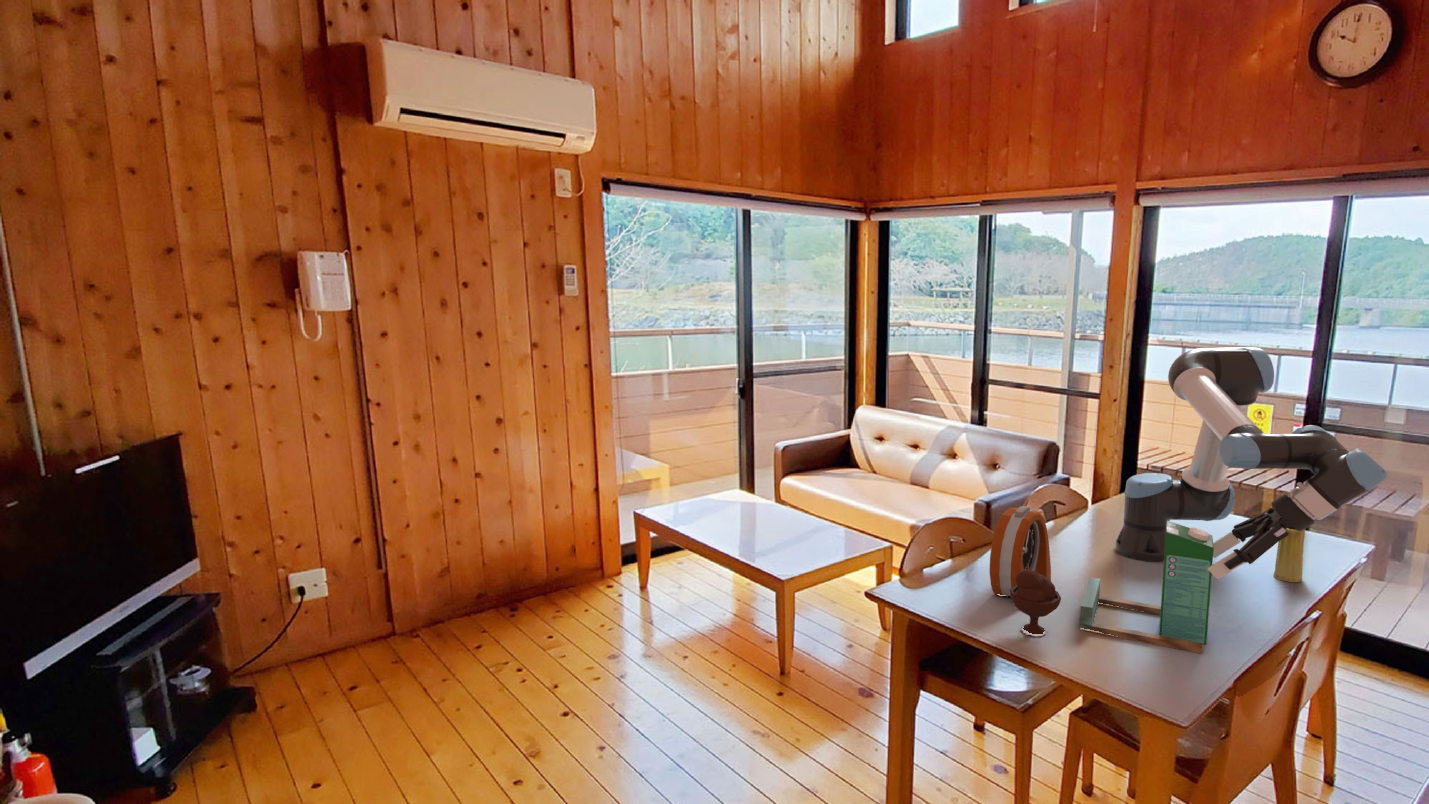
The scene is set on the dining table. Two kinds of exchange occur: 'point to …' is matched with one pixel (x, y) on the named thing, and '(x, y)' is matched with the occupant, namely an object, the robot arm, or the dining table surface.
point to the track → (1087, 620)
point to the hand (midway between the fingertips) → (1210, 563)
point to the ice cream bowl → (1034, 597)
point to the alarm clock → (1018, 548)
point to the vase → (1290, 556)
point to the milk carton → (1186, 583)
